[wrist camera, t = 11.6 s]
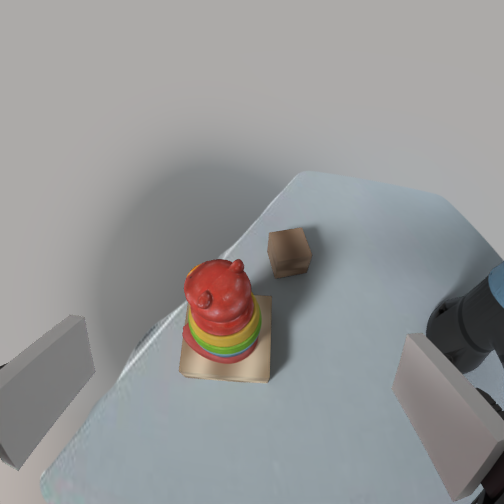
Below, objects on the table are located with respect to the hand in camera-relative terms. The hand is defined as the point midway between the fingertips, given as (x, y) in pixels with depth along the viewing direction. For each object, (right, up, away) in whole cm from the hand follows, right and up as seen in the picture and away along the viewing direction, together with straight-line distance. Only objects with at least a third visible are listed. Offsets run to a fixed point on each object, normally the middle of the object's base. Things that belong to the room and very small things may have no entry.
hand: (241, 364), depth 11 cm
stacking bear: (-3, -8, +34) cm, 35 cm away
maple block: (-3, -10, +38) cm, 39 cm away
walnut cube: (+7, +2, +46) cm, 47 cm away
